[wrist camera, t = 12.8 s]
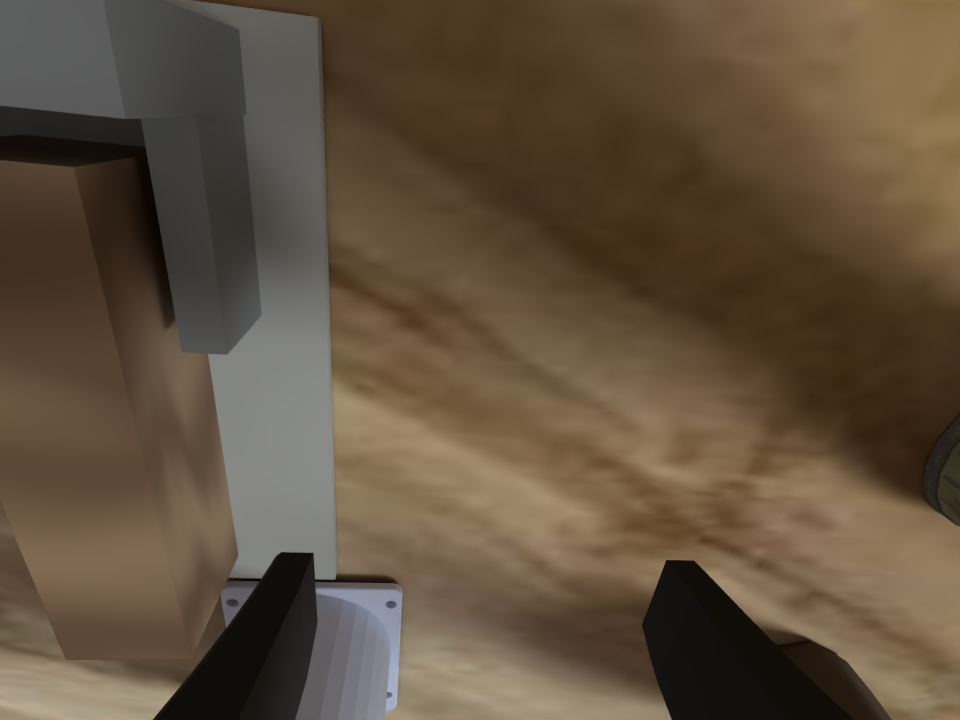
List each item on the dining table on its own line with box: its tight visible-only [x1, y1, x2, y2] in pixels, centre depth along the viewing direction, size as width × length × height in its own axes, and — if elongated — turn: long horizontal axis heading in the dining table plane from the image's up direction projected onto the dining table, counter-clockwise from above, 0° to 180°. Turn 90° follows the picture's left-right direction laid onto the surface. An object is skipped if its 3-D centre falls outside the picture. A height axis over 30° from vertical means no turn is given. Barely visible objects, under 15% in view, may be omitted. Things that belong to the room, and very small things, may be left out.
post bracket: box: [0, 0, 337, 579], centre depth 15 cm, size 21×12×6 cm, turn 174°
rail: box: [0, 135, 238, 660], centre depth 16 cm, size 16×4×4 cm, turn 174°
